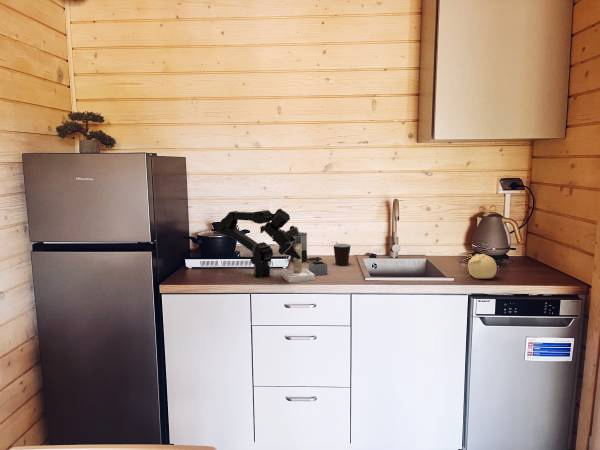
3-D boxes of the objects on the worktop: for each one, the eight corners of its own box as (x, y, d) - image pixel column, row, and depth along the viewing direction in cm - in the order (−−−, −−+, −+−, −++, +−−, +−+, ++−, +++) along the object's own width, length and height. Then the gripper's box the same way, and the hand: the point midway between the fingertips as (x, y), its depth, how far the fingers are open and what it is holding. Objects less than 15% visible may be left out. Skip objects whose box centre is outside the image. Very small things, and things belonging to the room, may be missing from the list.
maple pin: (295, 274, 200) (294, 245, 198) (292, 272, 203) (292, 244, 201) (302, 273, 201) (302, 244, 199) (300, 271, 204) (300, 243, 202)
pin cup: (313, 275, 206) (313, 265, 205) (308, 272, 212) (308, 262, 212) (327, 274, 208) (327, 264, 207) (322, 271, 214) (322, 261, 214)
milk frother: (289, 259, 241) (288, 232, 239) (317, 257, 244) (317, 231, 242) (293, 265, 227) (292, 236, 225) (323, 263, 230) (323, 235, 228)
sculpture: (468, 273, 208) (469, 250, 206) (497, 276, 202) (498, 252, 201) (465, 279, 198) (466, 255, 196) (494, 282, 192) (496, 257, 191)
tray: (289, 282, 195) (288, 277, 194) (281, 276, 206) (281, 270, 206) (314, 280, 199) (314, 274, 198) (306, 273, 210) (305, 268, 209)
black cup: (344, 267, 222) (344, 247, 220) (330, 265, 227) (330, 245, 225) (356, 262, 231) (356, 243, 229) (342, 260, 236) (342, 242, 234)
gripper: (285, 223, 190) (311, 249, 190) (290, 218, 208) (314, 241, 209) (267, 241, 192) (293, 267, 192) (274, 234, 210) (298, 257, 211)
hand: (300, 257), depth 201 cm, fingers closed on maple pin, 3 cm apart
